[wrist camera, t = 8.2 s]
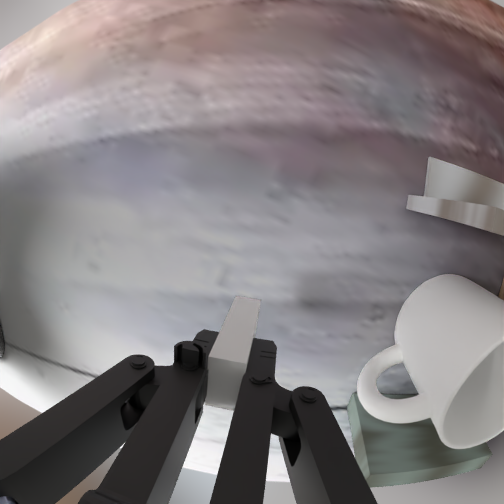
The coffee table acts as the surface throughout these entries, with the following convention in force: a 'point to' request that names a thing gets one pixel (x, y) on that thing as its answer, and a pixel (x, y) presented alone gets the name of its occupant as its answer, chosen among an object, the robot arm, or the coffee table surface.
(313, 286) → the coffee table surface
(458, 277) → the mug
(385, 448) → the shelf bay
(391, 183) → the coffee table surface
